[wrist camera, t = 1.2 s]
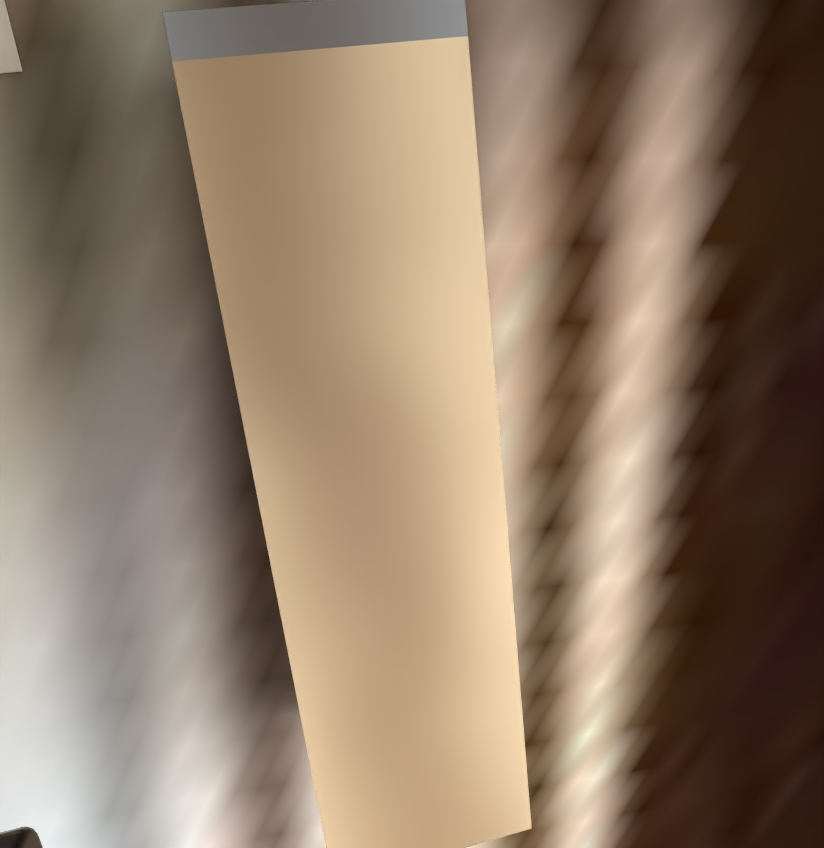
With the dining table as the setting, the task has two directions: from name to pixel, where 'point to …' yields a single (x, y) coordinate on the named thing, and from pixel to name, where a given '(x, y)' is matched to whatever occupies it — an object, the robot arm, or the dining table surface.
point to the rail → (367, 397)
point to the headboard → (7, 44)
